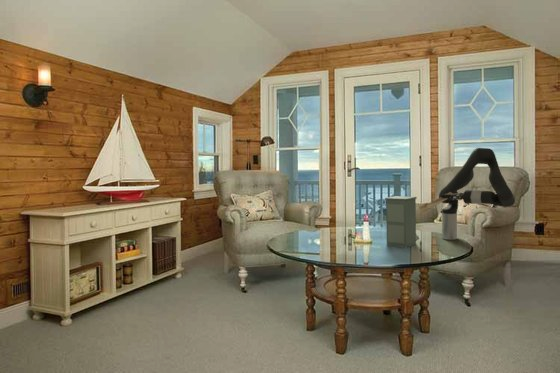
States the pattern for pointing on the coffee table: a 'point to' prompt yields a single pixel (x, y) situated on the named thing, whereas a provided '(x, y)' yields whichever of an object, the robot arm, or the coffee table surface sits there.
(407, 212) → the cabinet
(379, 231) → the coffee table surface
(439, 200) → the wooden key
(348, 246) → the coffee table surface
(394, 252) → the coffee table surface
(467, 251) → the coffee table surface
